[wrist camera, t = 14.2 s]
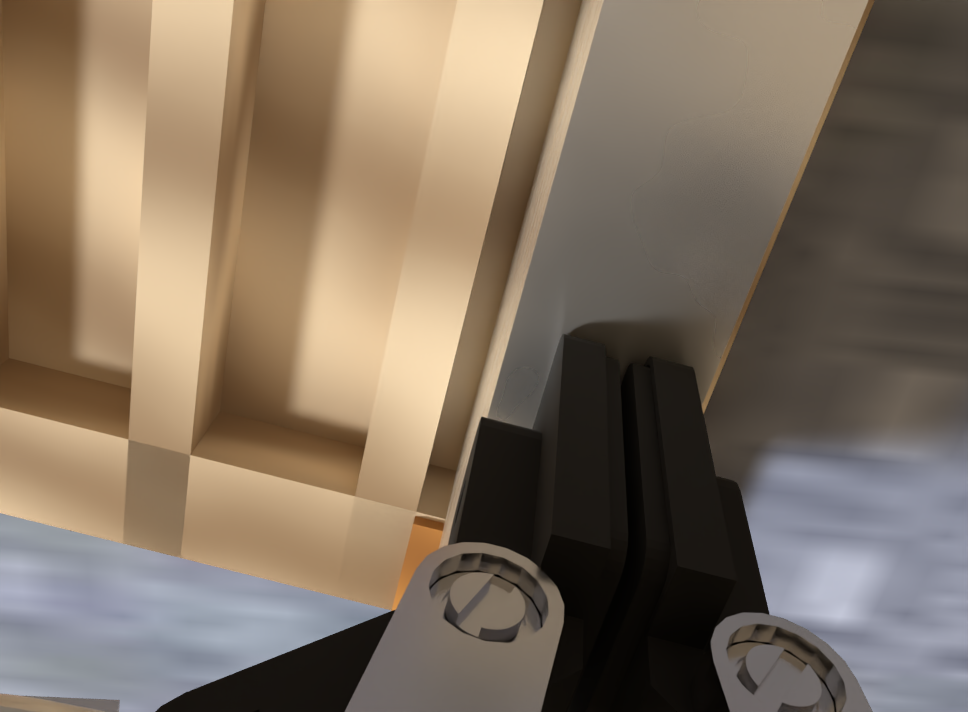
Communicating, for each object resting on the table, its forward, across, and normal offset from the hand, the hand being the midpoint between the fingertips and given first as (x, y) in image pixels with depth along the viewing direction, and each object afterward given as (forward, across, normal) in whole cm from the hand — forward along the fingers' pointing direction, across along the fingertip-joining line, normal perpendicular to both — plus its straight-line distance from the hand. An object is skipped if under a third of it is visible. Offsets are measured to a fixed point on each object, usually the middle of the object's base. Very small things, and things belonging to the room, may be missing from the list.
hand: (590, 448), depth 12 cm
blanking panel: (+10, 0, 0) cm, 10 cm away
